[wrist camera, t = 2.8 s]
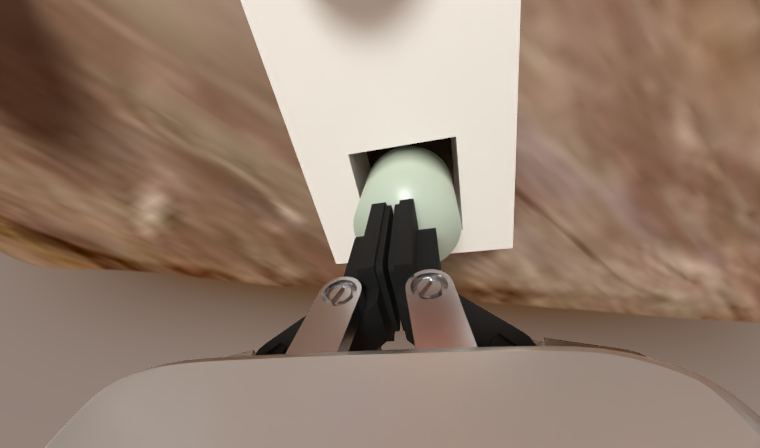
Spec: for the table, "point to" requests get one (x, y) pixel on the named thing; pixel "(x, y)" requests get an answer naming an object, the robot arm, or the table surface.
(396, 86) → the button box
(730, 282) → the table surface
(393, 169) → the sage button
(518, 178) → the table surface
